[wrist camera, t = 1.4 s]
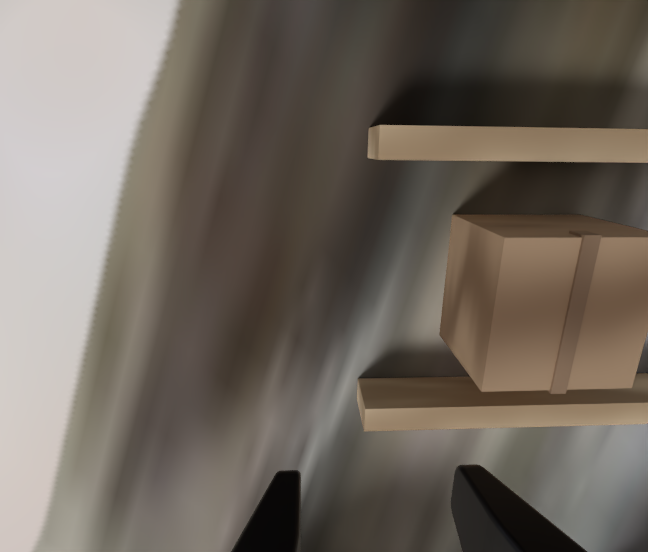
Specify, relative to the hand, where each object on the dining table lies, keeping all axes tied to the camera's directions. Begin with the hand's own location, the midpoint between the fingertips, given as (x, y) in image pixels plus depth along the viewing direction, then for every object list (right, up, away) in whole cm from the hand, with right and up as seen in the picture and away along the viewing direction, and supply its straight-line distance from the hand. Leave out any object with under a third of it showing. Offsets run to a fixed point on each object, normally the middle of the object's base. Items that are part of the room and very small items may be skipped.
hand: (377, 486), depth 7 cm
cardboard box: (+8, +4, +12) cm, 15 cm away
